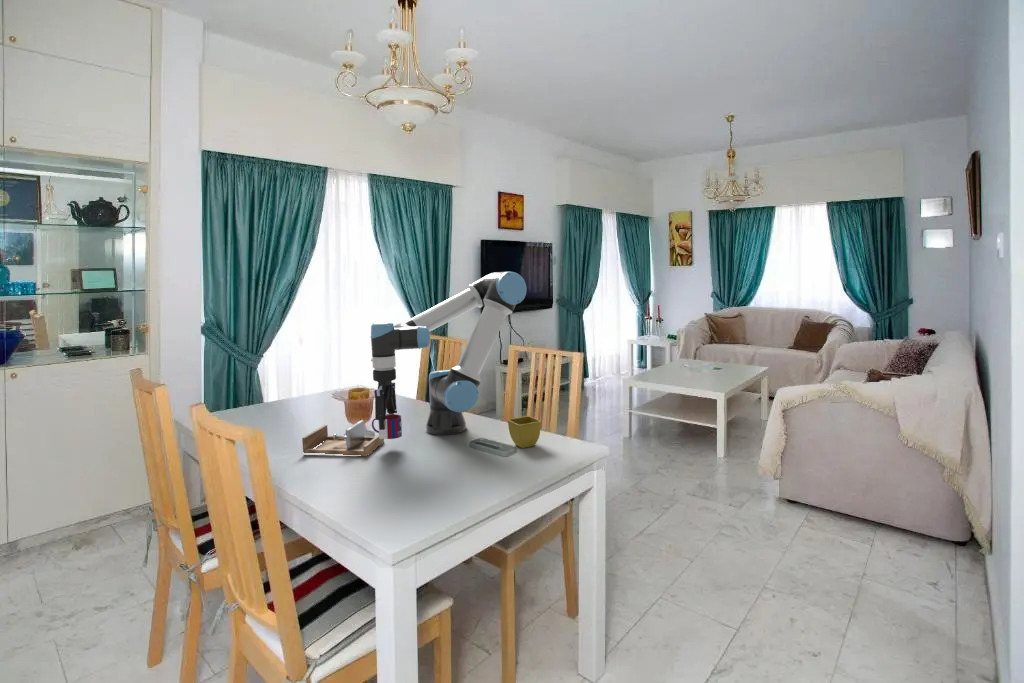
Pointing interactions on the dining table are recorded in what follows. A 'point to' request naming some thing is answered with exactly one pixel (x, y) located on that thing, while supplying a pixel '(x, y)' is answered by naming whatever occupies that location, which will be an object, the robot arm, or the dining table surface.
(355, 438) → the pusher
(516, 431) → the flower pot
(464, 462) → the dining table surface
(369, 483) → the dining table surface
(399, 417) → the mug
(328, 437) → the wooden tray
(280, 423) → the dining table surface
